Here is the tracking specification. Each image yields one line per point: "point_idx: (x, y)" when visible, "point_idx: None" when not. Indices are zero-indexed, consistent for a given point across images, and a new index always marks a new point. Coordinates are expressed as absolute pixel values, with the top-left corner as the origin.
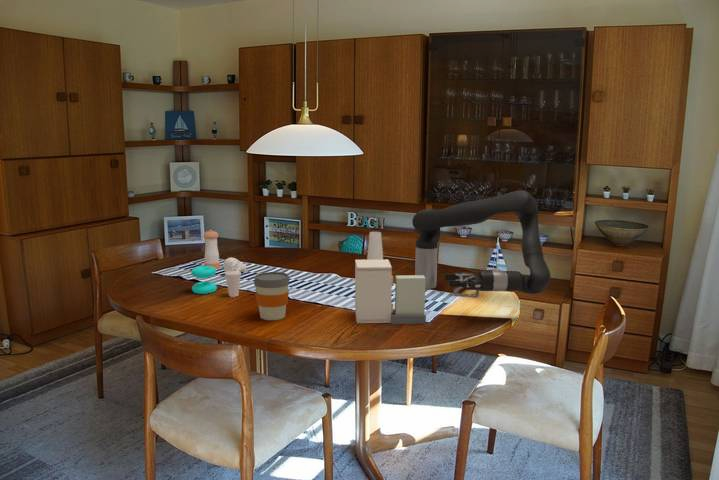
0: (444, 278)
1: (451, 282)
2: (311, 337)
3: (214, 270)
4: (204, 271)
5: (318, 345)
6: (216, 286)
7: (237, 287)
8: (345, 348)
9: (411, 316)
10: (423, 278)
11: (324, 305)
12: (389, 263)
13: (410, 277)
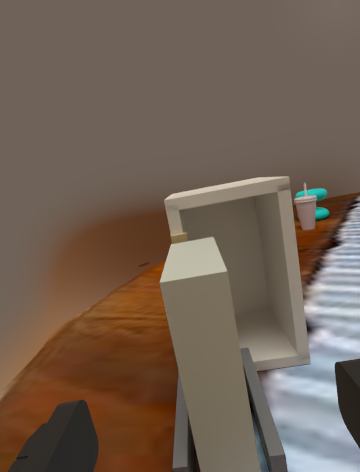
0: (344, 396)
1: (43, 424)
2: (131, 297)
3: (312, 194)
4: (299, 194)
5: (94, 308)
6: (319, 214)
7: (304, 217)
8: (62, 332)
9: (176, 411)
10: (161, 280)
11: (309, 276)
12: (220, 189)
13: (182, 256)
